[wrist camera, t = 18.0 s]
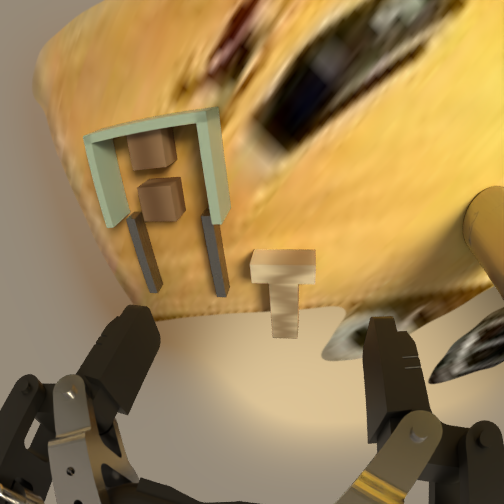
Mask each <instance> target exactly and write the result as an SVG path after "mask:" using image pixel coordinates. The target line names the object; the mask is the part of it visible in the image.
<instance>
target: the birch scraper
mask: <svg viewBox="0 0 504 504" xmlns="http://www.w3.org/2000/svg"><path fill="white" fill-rule="evenodd" d="M250 271H251V280H252V283H269V293H270V307H271V321H272V334H273V335H272V336H273V338H292V339H296V338H297V336H298V323H299V284H315V273H316V254H315V250H293V249H254V252H253V255H252V258H251V262H250Z"/></svg>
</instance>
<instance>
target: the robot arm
mask: <svg viewBox="0 0 504 504" xmlns="http://www.w3.org/2000/svg"><path fill="white" fill-rule="evenodd" d="M463 236H464V240H465V242H466V244H467V246H468V247H469V249H470V250H471V252H472V253H473V254H474V256H475V257H476V259H477V260H478V261H479V263H480V265H481V266H482V267H483V269H484V270H485V272H486V273H487V275H488V276H489V278H490V279H491V281H492V283H493V284H494V286H495V287H496V289H497V290H498V292H499V294H500V295H501V297H502V299H503V300H504V187H500V186H495V187H490V188H488V189H485V190H484V191H482V192H481V193H480V194H479V195H478V196H477V197H476V198H475V199H474V200H473V201H472V203H471V204H470V206H469V208H468V210H467V212H466V215H465V218H464V223H463ZM159 347H160V334H159V331H158V329H157V326H156V324H155V321H154V319H153V316H152V314H151V311H150V309H149V308H148V307H147V306H138V305H128V306H127V307H126V308H125V310H124V311H123V313H122V314H121V316H120V317H118V316H117V317H116V318H115V319H114V320H112V321H111V322H110V323H109V324H108V325H107V326H106V328H105V329H104V331H103V332H102V334H101V337H99V338H98V340H97V341H96V345H94V346H93V348H92V349H91V351H90V352H89V354H88V356H87V357H86V359H85V361H84V362H83V364H82V365H81V367H80V369H79V370H78V372H77V373H76V374H70V375H66V376H64V377H62V378H61V379H60V380H59V381H58V382H57V383H56V384H42V383H41V382H40V381H39V380H38V379H37V377H35V376H34V375H32V374H28V375H25V376H23V377H21V378H20V379H19V380H18V381H17V382H16V384H15V385H14V387H13V389H12V391H11V393H10V394H9V396H8V398H7V399H6V401H5V403H4V405H3V407H2V408H1V410H0V504H44V501H45V499H46V496H47V492H48V490H49V487H50V485H51V482H52V480H53V486H54V491H55V496H56V501H57V504H257V503H249V502H242V501H237V502H219V503H218V502H216V503H203V502H199V501H197V500H195V499H193V498H191V497H189V496H187V495H185V494H183V493H181V492H179V491H178V490H176V489H174V488H172V487H170V486H167V485H163V484H160V483H156V482H153V481H150V480H147V479H144V478H140V480H139V478H138V476H137V474H136V472H135V470H134V469H133V467H132V466H131V464H130V463H129V461H128V458H127V455H126V452H125V449H124V446H123V442H122V439H121V435H120V431H119V428H118V423H117V421H116V419H115V416H116V414H117V412H119V413H123V414H125V415H128V414H129V412H130V410H131V407H132V405H133V403H134V401H135V398H136V396H137V394H138V392H139V390H140V388H141V385H142V383H143V381H144V379H145V377H146V375H147V372H148V370H149V368H150V366H151V364H152V362H153V360H154V358H155V356H156V354H157V352H158V350H159ZM363 370H364V380H365V381H364V382H365V395H366V409H367V410H366V411H367V431H368V444H371V443H377V454H376V455H375V457H374V458H373V459H372V461H371V462H370V463H369V464H368V466H367V467H366V468H365V469H364V471H363V472H362V473H361V474H360V475H359V477H358V478H357V479H356V480H355V481H354V482H353V483H352V485H351V486H350V487H349V488H348V489H347V491H346V492H344V494H343V495H342V496H341V497H340V498H339V499H338V500H337V501H336V502H335V503H334V504H404V499H405V497H406V495H407V493H408V492H409V491H410V489H411V488H412V486H413V485H414V483H415V482H416V480H422V481H429V504H504V444H503V439H502V434H501V431H500V429H499V428H498V427H497V426H496V424H494V423H493V422H490V421H479V422H477V423H475V424H474V425H473V426H472V427H471V428H464V427H457V426H451V425H446V424H444V423H442V422H441V421H440V420H439V419H438V418H437V417H436V416H435V415H434V414H432V411H431V409H430V406H429V401H428V395H427V390H426V386H425V381H424V377H423V372H422V369H421V364H420V360H419V358H418V352H417V348H416V344H415V342H414V340H413V339H412V338H411V336H410V335H409V334H408V333H407V331H398V332H397V329H396V325H395V321H394V318H393V317H392V316H385V317H371V318H370V322H369V326H368V330H367V335H366V339H365V343H364V347H363ZM34 418H35V419H36V420H37V421H38V422H40V423H41V424H40V426H39V428H38V430H37V432H36V434H35V437H34V439H33V441H32V443H31V445H30V447H29V449H26V448H25V445H24V439H25V437H26V435H27V433H28V431H29V428H30V427H31V424H32V422H33V420H34Z"/></svg>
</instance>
